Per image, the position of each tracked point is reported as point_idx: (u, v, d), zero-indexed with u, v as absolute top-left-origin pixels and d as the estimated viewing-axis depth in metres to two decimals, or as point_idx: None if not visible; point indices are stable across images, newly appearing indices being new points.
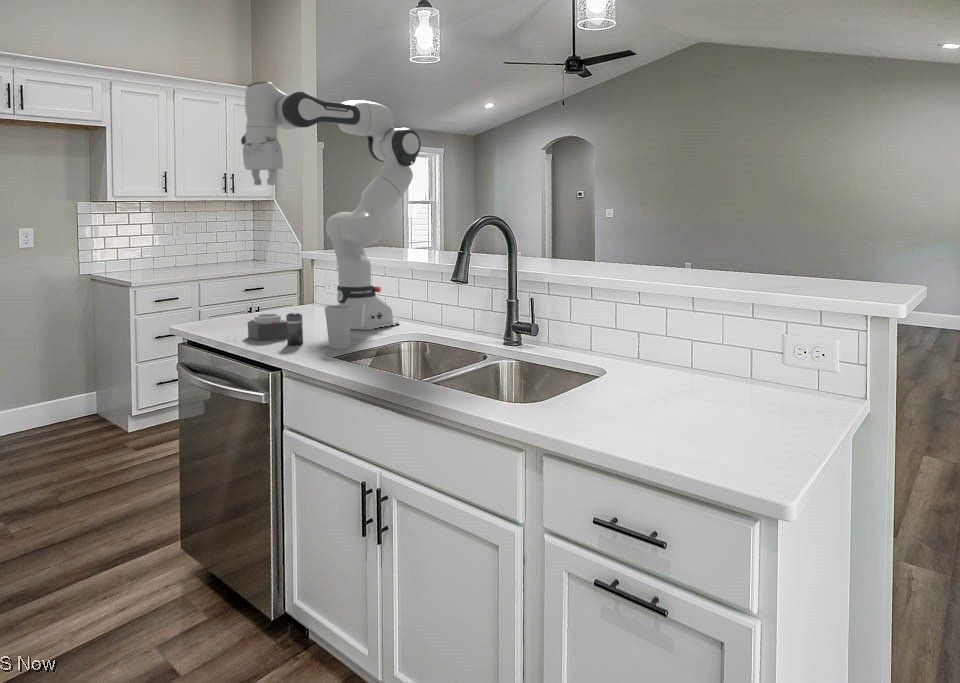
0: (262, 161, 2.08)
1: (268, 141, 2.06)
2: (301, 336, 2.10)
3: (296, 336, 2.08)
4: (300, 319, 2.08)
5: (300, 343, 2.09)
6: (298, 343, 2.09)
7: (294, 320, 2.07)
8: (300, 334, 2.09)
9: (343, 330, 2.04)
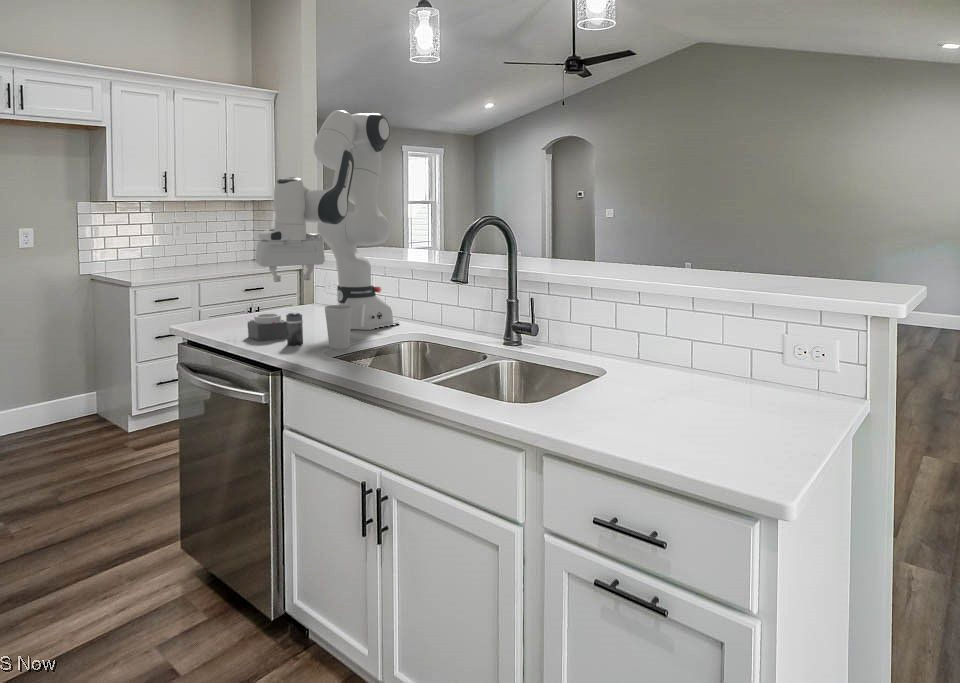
0: (305, 257, 2.06)
1: (307, 238, 2.07)
2: (301, 336, 2.10)
3: (296, 336, 2.08)
4: (300, 319, 2.08)
5: (300, 343, 2.09)
6: (298, 343, 2.09)
7: (294, 320, 2.07)
8: (300, 334, 2.09)
9: (343, 330, 2.04)
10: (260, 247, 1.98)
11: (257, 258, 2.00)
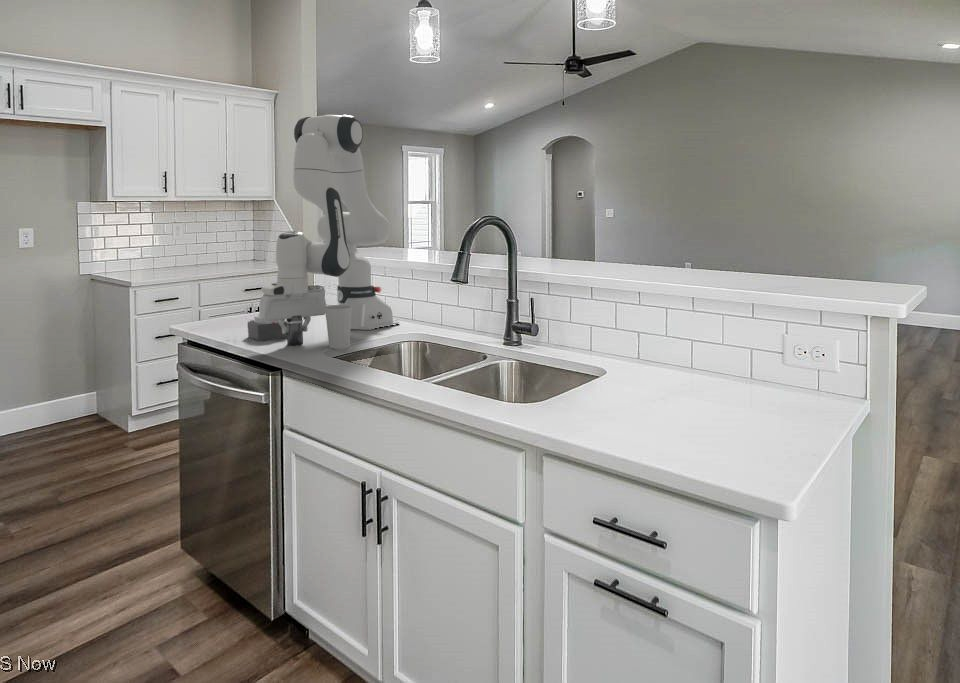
0: (307, 309, 2.09)
1: (309, 290, 2.11)
2: (301, 336, 2.10)
3: (296, 336, 2.08)
4: (300, 319, 2.08)
5: (300, 343, 2.09)
6: (298, 343, 2.09)
7: (294, 320, 2.07)
8: (300, 334, 2.09)
9: (343, 330, 2.04)
10: (263, 301, 2.02)
11: (260, 312, 2.03)
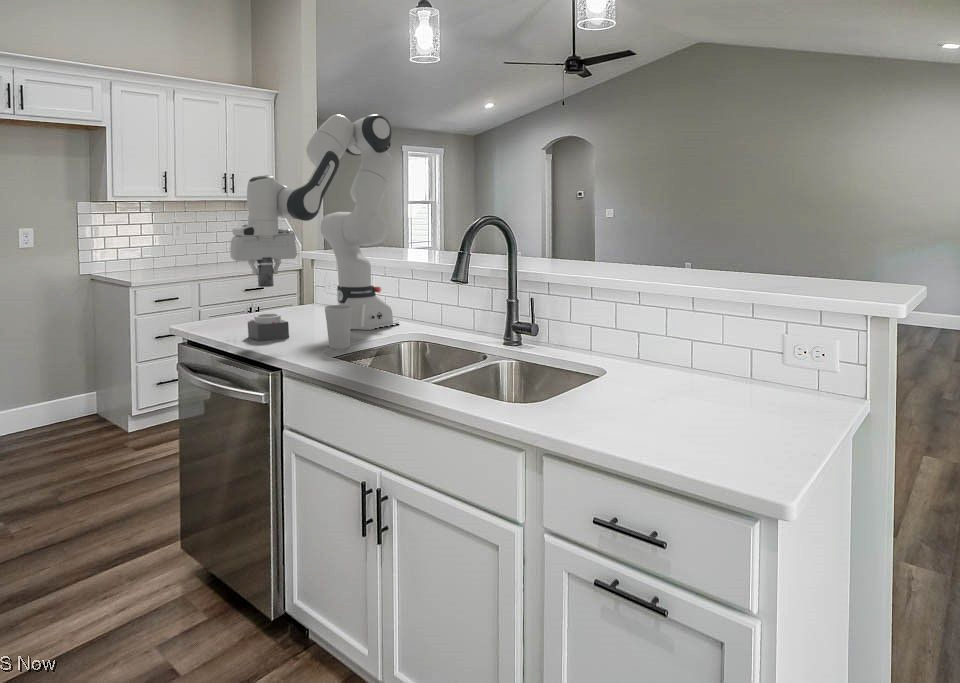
0: (277, 252, 2.16)
1: (280, 233, 2.17)
2: (271, 278, 2.16)
3: (266, 277, 2.15)
4: (270, 261, 2.15)
5: (270, 284, 2.16)
6: (268, 284, 2.16)
7: (264, 261, 2.14)
8: (270, 276, 2.16)
9: (343, 330, 2.04)
10: (234, 242, 2.08)
11: (231, 252, 2.10)
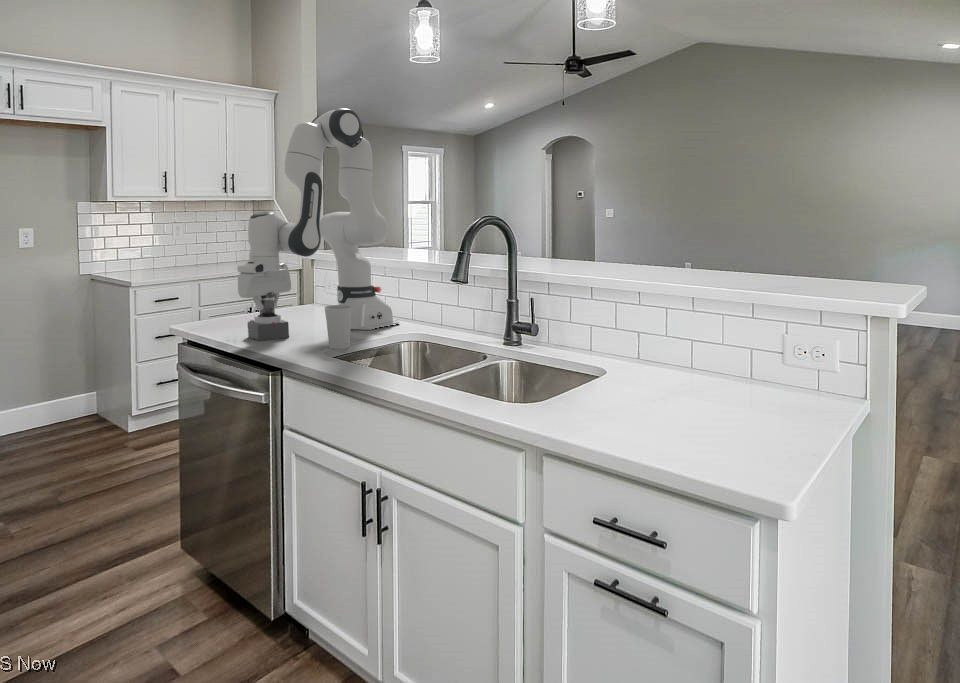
0: (277, 286, 2.20)
1: None
2: (274, 312, 2.20)
3: (271, 312, 2.18)
4: (273, 295, 2.18)
5: None
6: None
7: (269, 296, 2.17)
8: (274, 310, 2.19)
9: (343, 330, 2.04)
10: (244, 279, 2.08)
11: (241, 290, 2.09)
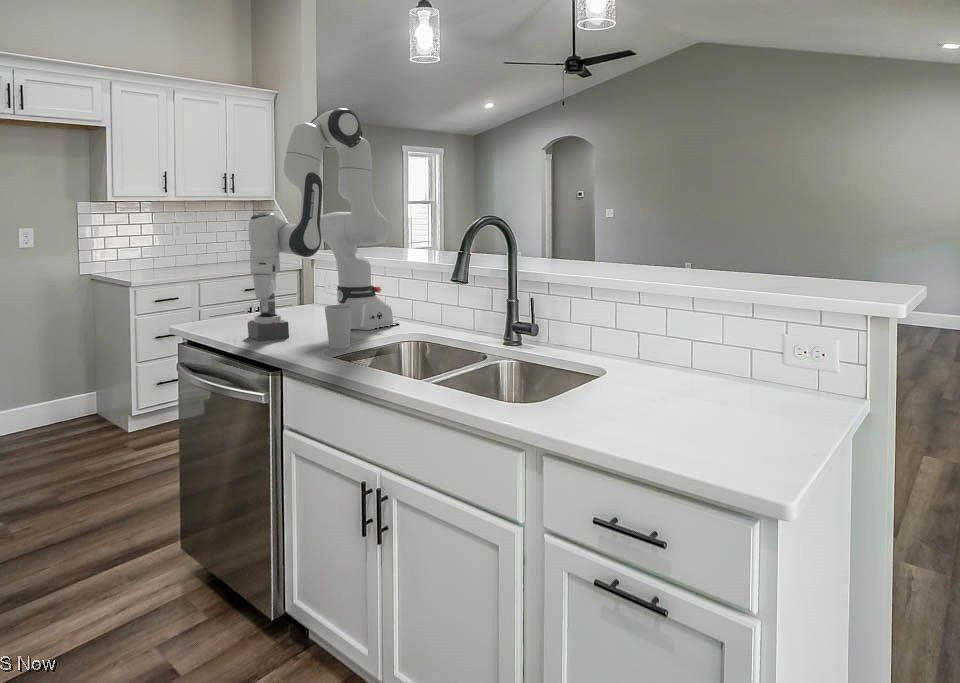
0: (273, 286, 2.21)
1: None
2: None
3: (274, 312, 2.19)
4: None
5: None
6: None
7: (273, 297, 2.18)
8: None
9: (343, 330, 2.04)
10: (263, 280, 2.08)
11: (259, 291, 2.08)
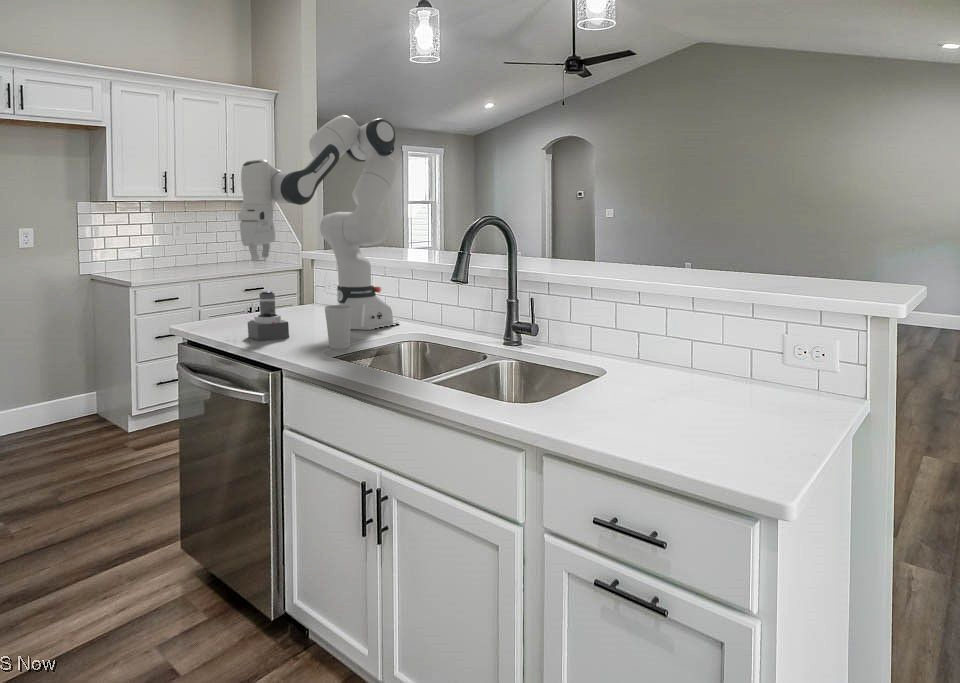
0: (268, 236, 2.19)
1: None
2: None
3: (274, 312, 2.19)
4: None
5: None
6: None
7: (273, 297, 2.18)
8: None
9: (343, 330, 2.04)
10: (249, 227, 2.06)
11: (245, 238, 2.06)
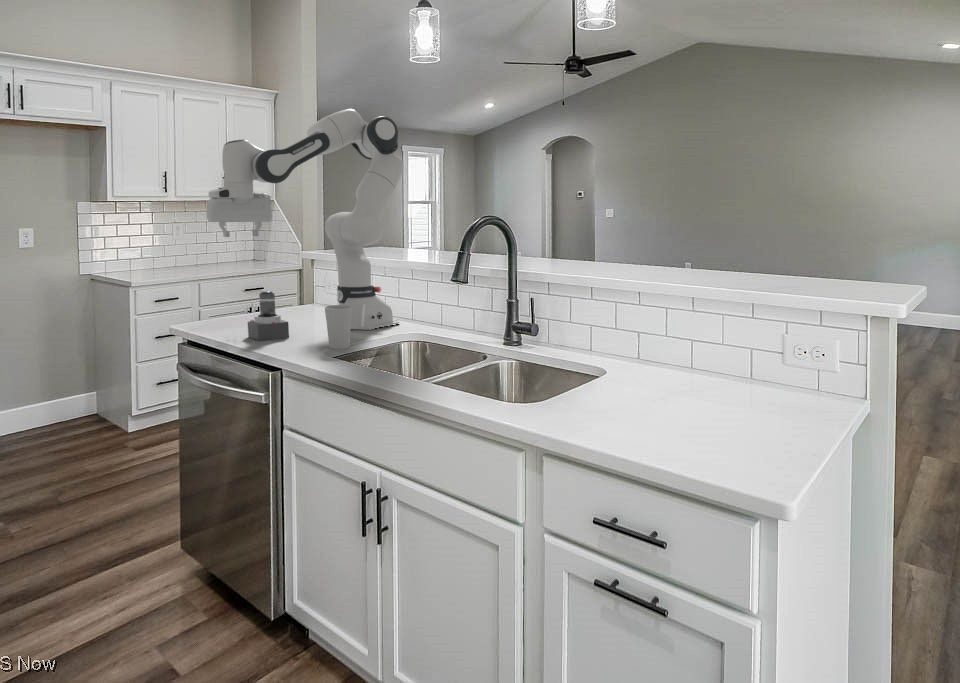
0: (252, 215, 2.23)
1: (255, 197, 2.24)
2: None
3: (274, 312, 2.19)
4: None
5: None
6: None
7: (273, 297, 2.18)
8: None
9: (343, 330, 2.04)
10: (209, 204, 2.15)
11: (207, 214, 2.16)
